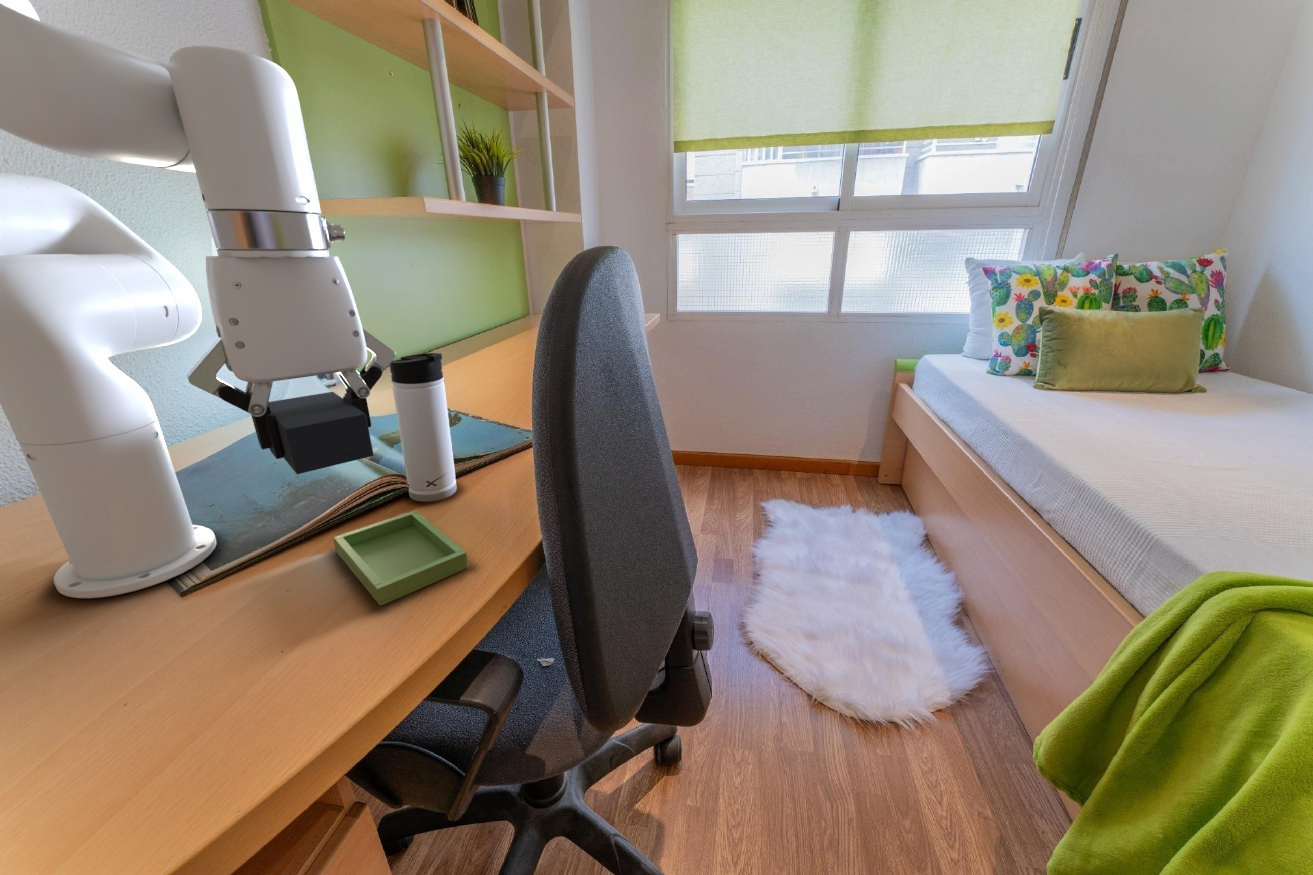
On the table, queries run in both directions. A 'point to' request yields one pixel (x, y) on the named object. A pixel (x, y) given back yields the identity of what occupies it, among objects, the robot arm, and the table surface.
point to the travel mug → (424, 426)
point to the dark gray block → (321, 431)
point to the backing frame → (399, 556)
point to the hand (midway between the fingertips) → (320, 443)
